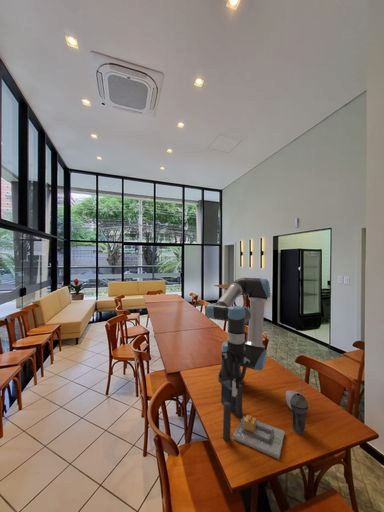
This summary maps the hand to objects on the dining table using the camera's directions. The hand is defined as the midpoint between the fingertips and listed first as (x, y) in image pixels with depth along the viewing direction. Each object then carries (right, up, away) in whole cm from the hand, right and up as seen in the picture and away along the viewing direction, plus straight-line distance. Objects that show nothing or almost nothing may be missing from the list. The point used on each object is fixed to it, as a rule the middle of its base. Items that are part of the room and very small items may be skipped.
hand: (234, 394), depth 99 cm
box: (0, -15, +15) cm, 21 cm away
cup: (+32, -16, +15) cm, 39 cm away
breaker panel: (+9, -14, -6) cm, 18 cm away
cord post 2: (+3, -14, +7) cm, 16 cm away
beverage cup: (+28, -15, -1) cm, 32 cm away
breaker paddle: (+6, -12, -3) cm, 14 cm away
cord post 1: (-5, -14, -7) cm, 16 cm away
